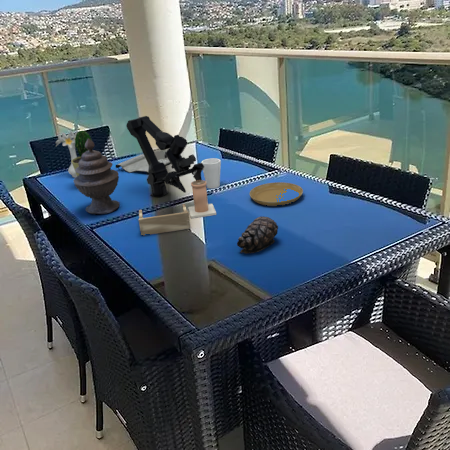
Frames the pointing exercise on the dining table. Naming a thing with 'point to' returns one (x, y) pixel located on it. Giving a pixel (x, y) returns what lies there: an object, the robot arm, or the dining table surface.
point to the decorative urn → (96, 180)
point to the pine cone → (258, 235)
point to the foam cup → (212, 172)
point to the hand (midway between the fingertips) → (193, 189)
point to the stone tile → (195, 214)
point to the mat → (138, 164)
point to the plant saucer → (273, 193)
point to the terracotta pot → (200, 195)
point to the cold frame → (164, 222)
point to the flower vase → (70, 142)
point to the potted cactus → (80, 147)
